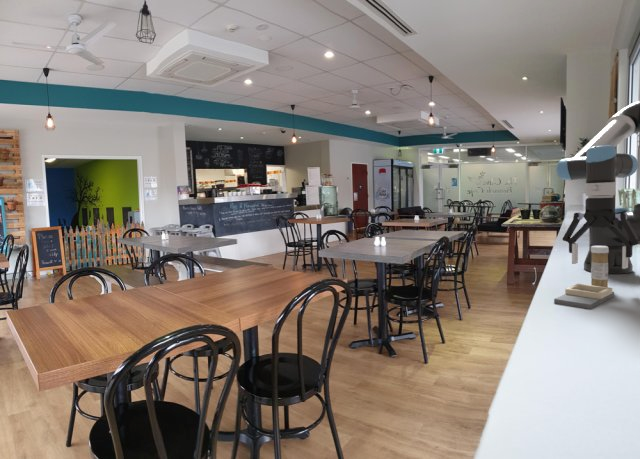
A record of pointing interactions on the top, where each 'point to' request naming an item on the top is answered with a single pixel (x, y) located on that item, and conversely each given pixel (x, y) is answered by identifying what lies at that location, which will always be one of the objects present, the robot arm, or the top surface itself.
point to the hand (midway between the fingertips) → (598, 265)
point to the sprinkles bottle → (599, 266)
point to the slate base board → (584, 296)
